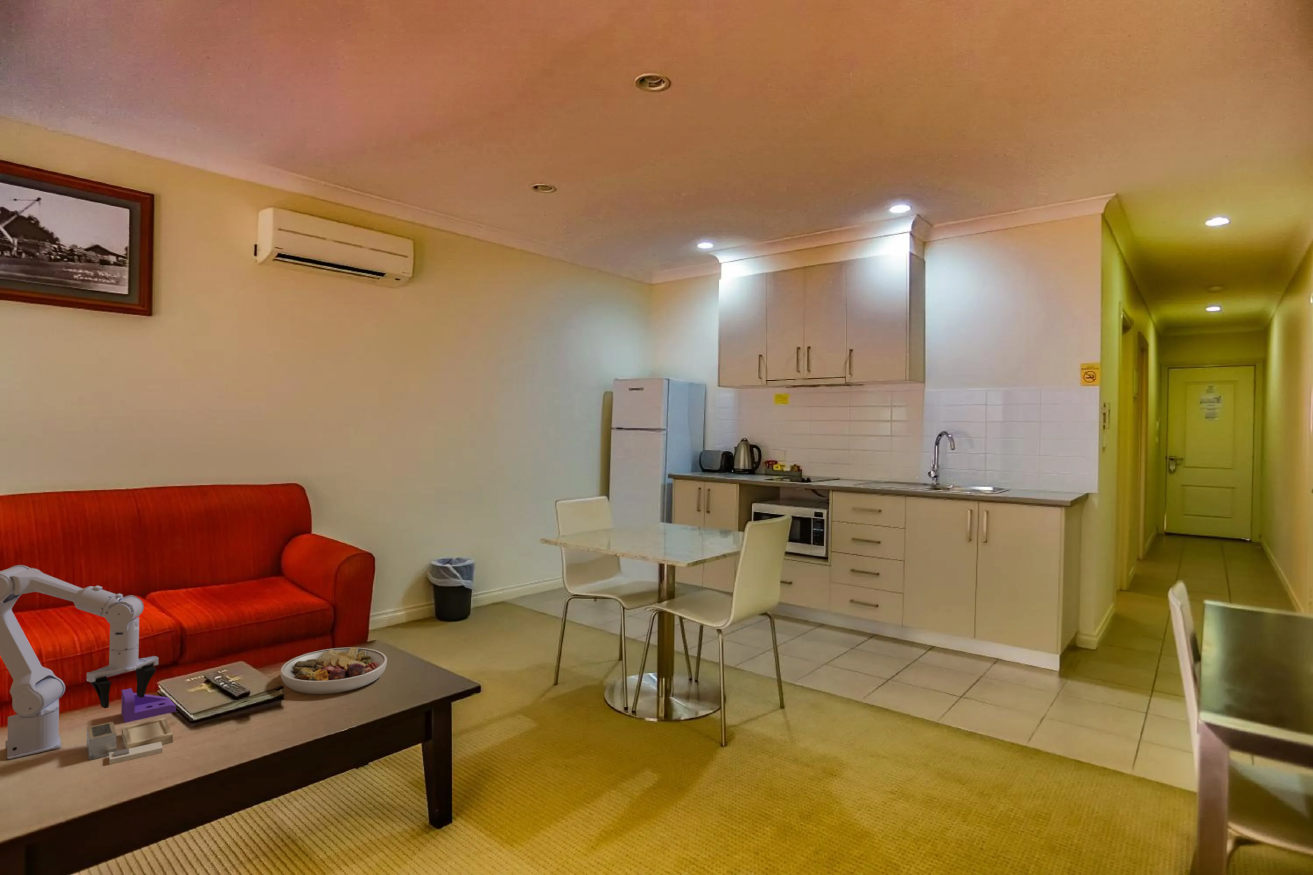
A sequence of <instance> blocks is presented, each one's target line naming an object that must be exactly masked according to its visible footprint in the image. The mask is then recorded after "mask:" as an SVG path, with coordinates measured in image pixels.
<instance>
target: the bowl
mask: <svg viewBox="0 0 1313 875" xmlns="http://www.w3.org/2000/svg"><path fill="white" fill-rule="evenodd" d="M387 662H388V658H387V656H386V655H385V654H384V653H383V652H381V651H379V650H376V649H373V648H365V647H356V646H355V647H354V646H353V647H335V648H327V649H321V650H317V651H315V650H314V651H312V652H307V653H303V654H302V655H299V656H296V657H293V658H291V659H290V660H288V661H286V662H285V663H284V664H283V665H281V668H280V678H281V680H282V682H283V684H284V685H285V686H286V687H287V688H289V690H292V691H295V692H297V693H302V694H303V693H304V694H309V695H329V694H338V693H346V692H349V691H353V690H356V689H359V688H363V687H365V686H368V685H369V684H371V683H373V682H375V681H376V680H378V679H379V678H380V677H381V676H382V674H383V673H384V672H385V670H386V667H387V664H388V663H387Z"/></svg>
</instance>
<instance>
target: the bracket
mask: <svg viewBox="0 0 1313 875" xmlns="http://www.w3.org/2000/svg"><path fill="white" fill-rule="evenodd" d="M169 698H170V697H169ZM169 698H168V697H167V696H160V695H153V694H146V693H145V695H144V697H142V698H140V697H138V696H137V692H134V691H133V688H131V687H130V688H127V689H121V706H120V707H121V716H122V720H123V722H124V724H125V723H131V722H135V721H139V720H143V719H148V718H153V717H158V716H162V715H166V714H167V715H168V714H171V713H174V712H175V713H176V712H177V711H176V705H175V704H174V703H173V702H172V701H171V700H170V699H169Z"/></svg>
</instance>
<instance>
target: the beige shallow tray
mask: <svg viewBox="0 0 1313 875" xmlns="http://www.w3.org/2000/svg"><path fill="white" fill-rule="evenodd" d="M121 738H122V740H123V743H124V747H125V748H124V749H128V748H134V747H138V746H143V745H148V744H152V743H157V742H162V745H166V744H171V743H173V740H174V739H173V738H174V734H173V731H172V730H171V727H170V725H169V723H168V721H167V718H166V717H162V718H160V717H159V718H156V719H152V720H147V721H142V722H138V723H133V724H129V725H125V726H122V727H121Z"/></svg>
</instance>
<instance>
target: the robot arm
mask: <svg viewBox="0 0 1313 875" xmlns="http://www.w3.org/2000/svg"><path fill="white" fill-rule="evenodd" d="M29 593H40V594H44V595H48V596H51V597H54V598H58V599H62V600H66V601H69V602H73V604H74V608H76V609H78V610H81V611H84V612H86V613H90V614H93V615H96V616H98V617H101V618H105V620H106V622H107V623H108V624H109V653H108V654H109V655H108V656H109V658H108V661H109V662H108V665H106V666H103V667H101V668H98V669H96V670H92V671H90V672H89V671H88V672H86V682H89V683H90V684H91V686H92V687H93V688H94V690H95V692H96V694H97V696H98V699H99V703H100V707H101V708H103V709H107V708H109V706H110V690H111V686H112V682H111V681H109V677H114V676H118V675H120V674H125V673H129V672H132V671H135V675H136V676H135V677H136V693H137V696H138V697H140V698H142V697H144V695H145V694H146V692H147V688H148V685H149V683H150V681H151V679H152V678H153V676H154V674H155V673H156V671H157V670H156V667H155V666H158V665H159V657H158V656H157V655H156V656H155V655H152V656H147V657H142V658H139V648H140V646H139V645H140V644H139V643H140V642H139V641H140V617H139V616H141V614H142V613H143V611H144V607H145V606H144V602H143V600H141V598H139V597H137V596H135V595H132V594H130V595H126V596H123V595H124V594H122V593H114V592H111V591H109V590H108V591H107V590H105V589H103V586H100V585H96V586H92V585H89V586H87V587H84V588H82V587H80V586H77V585H76V584H75V585H74V584H72V583H69V582H67V581H64V580H62V579H59V578H57V577H53V576H52V575H49V574H47V573H44V572H43V571H41V570H40V569H38V568H35V567H29V566H27V565H23V564H17V565H12V566H11V567H9V568H7V569H3V570H0V658H1V660H2V662H3V663H4V665H5V667H6V668H7V670H8V673H9V674H10V676H11V678H12V680H13V681H12V683H11V686H10V689H9V694H10V695H11V698H12V702H11V703H12V704H11V705H12V709H13V711H14V712H15V714H13V715H10V716H7V740H5V750H6V751H7V752H6V755H7V756H6V759H7V760H13V759H16V758H17V759H18V758H22V757H26V756H29V755H34V754H38V753H43V752H48V751H53V750H56V749H60V748H62V741H61V735H60V734H59V731H60V727H59V726H60V725H59V724H60V698H62V697H63V695H64V693H65V691H66V685H65V683H64V680H62V679H61V678H59V677H58V676H56V675H55V673H54V672H53V670H51V669H50V668H48V667H44V666H42V663H41V662H40V660H39V658H38V656H37V655H36V653H35V651H34V648H33V647H32V645H31V644H30V642H29V640H28V638H27V636H26V634H25V632H24V630H23V628H22V627H21V625H20V622H18V619H17V618H16V616H15V614H14V612H13V607H14V605H15V604H16V603H17V601H18V599H19V598H20V596H22V595H24V594H29Z"/></svg>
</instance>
